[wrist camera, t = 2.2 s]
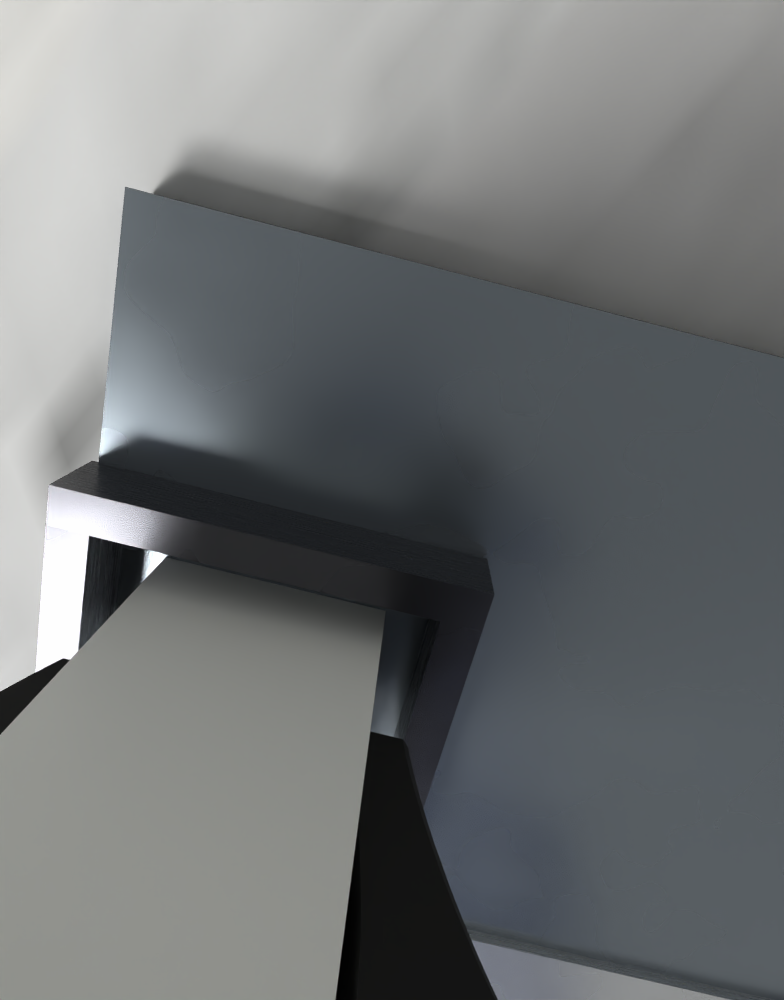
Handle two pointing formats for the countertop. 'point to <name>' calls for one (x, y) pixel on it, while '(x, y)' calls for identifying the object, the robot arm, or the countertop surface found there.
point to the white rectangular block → (189, 797)
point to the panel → (480, 572)
